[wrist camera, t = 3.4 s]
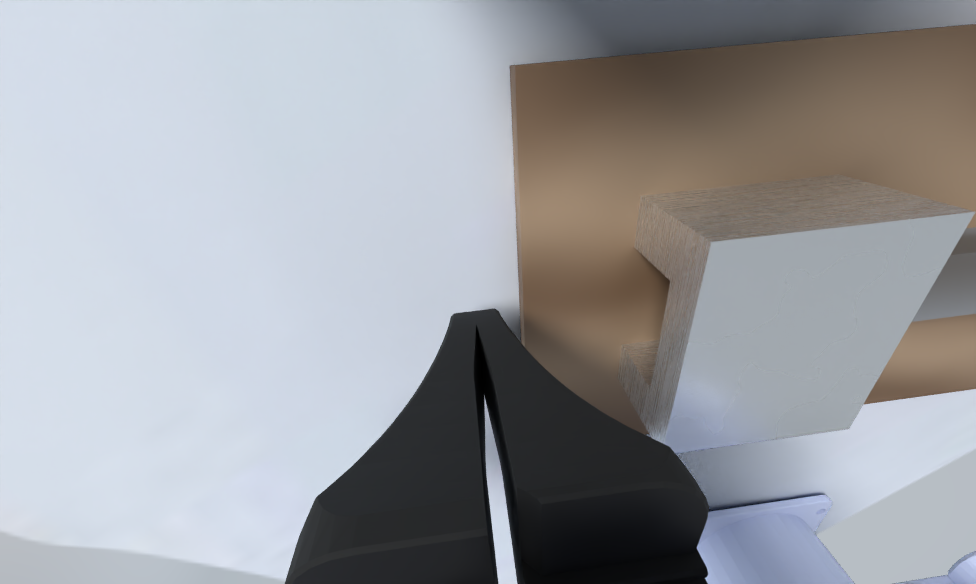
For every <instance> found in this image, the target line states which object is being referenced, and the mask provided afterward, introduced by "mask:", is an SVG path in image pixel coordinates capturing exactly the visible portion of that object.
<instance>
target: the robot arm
mask: <svg viewBox="0 0 976 584" xmlns="http://www.w3.org/2000/svg"><path fill="white" fill-rule="evenodd" d="M484 395H485V400H486V404H487V408H488V412H489V417H490V421H491V425H492V429H493V434H494V438H495V442H496V446H497V451H498V455H499V459H500V464H501V470H502V475H503V482H504V489H505V496H506V503H507V510H508V518H509V525H510V532H511V539H512V546H513V554H514V561H515V568H516V576H517V583H518V584H855V583H854V582H853V581H852V580H851V578H850V577H849V576H848V575H847V573H846V572H845V571H844V569H843V568H842V567H841V566H840V564H838V562H837V561H836V559H835V558H834V557H833V556H832V555H831V553H830V552H829V551H828V549H827V548H826V547H825V546H824V544H823V543H822V542H821V541H820V539H819V538H818V537H817V536H816V534H815V533H814V532H815V531H816V529H817V528H818V526H819V524H820V523H821V521H822V520H823V518H824V517H825V515H826V514H827V512H828V510H829V509H830V507H831V506H832V503H833V502H832V501H831V500H830V498H829V497H828V496H826V495H817V496H810V497H804V498H797V499H790V500H784V501H777V502H770V503H764V504H757V505H750V506H744V507H737V508H730V509H724V510H717V511H710V512H709V505H708V503H707V500H706V497H705V496H704V494H703V492H702V491H701V489H700V487H699V486H698V484H697V483H696V481H695V479H694V478H693V476H692V475H691V474H690V472H689V471H688V470H687V468H686V467H685V466H684V464H683V463H682V462H681V460H680V459H679V458H678V457H677V455H676V454H675V453H674V451H673V450H672V449H671V448H670V447H669V446H667V445H665V444H663V443H661V442H659V441H657V440H655V439H653V438H650V437H648V436H646V435H644V434H642V433H640V432H638V431H636V430H634V429H632V428H630V427H628V426H626V425H624V424H622V423H621V422H619V421H617V420H615V419H614V418H612V417H610V416H608V415H607V414H605V413H603V412H602V411H600V410H599V409H597V408H596V407H594V406H593V405H591V404H590V403H588V402H587V401H585V400H584V399H582V398H581V397H579V396H578V395H576V394H575V393H574V392H573V391H571V390H570V389H569V388H567V387H566V386H565V385H564V384H562V383H561V382H560V381H559V380H558V379H556V378H555V377H554V376H553V375H552V374H551V373H549V372H548V371H547V370H546V369H545V368H544V367H543V366H542V365H541V364H540V363H539V362H538V361H537V360H536V359H535V358H534V357H533V356H532V355H531V354H530V353H529V352H528V350H527V349H526V348H525V347H524V346H523V345H522V344H521V342H520V341H519V340H518V339H517V338H516V336H515V335H514V334H513V333H512V331H511V330H510V329H509V327H508V326H507V324H506V323H505V322H504V320H503V318H502V317H501V315H500V313H499V311H497V310H496V309H488V310H480V311H471V312H463V313H455V314H453V315H452V316H451V319H450V323H449V327H448V330H447V332H446V335H445V338H444V340H443V342H442V345H441V347H440V349H439V351H438V353H437V356H436V358H435V360H434V362H433V363H432V365H431V367H430V369H429V371H428V372H427V374H426V376H425V378H424V380H423V381H422V383H421V384H420V386H419V388H418V389H417V391H416V392H415V394H414V395H413V397H412V398H411V399H410V401H409V402H408V404H407V405H406V407H405V408H404V409H403V410H402V412H401V413H400V414H399V415H398V417H397V418H396V419H395V421H394V422H393V423H392V424H391V426H390V427H389V428H388V429H387V430H386V431H385V433H384V434H383V435H382V436H381V437H380V438H379V439H378V440H377V441H376V442H375V443H374V444H373V445H372V446H371V448H370V449H369V450H368V451H367V452H366V453H365V454H364V455H363V456H362V457H361V458H360V459H359V460H358V461H357V462H356V463H355V464H354V465H353V466H352V467H351V468H350V469H349V470H347V471H346V472H345V473H344V474H343V475H342V476H341V477H339V478H338V479H337V480H336V481H335V482H334V483H333V484H331V485H330V486H329V487H328V488H327V489H326V490H325V491H323V492H322V493H321V494H320V495H318V496H317V497H316V499H315V501H314V503H313V505H312V508H311V510H310V512H309V515H308V517H307V519H306V522H305V524H304V526H303V529H302V531H301V533H300V536H299V539H298V542H297V545H296V548H295V552H294V555H293V558H292V562H291V565H290V568H289V572H288V575H287V578H286V582H285V584H498V577H497V568H496V559H495V550H494V541H493V532H492V523H491V514H490V505H489V496H488V487H487V478H486V462H485V411H484ZM894 584H976V551H974V552H972V553H970V554H967V555H965V556H964V557H962V558H961V559H959V560H958V561H957V562H956V563H955V564H954V565H953V566H952V567H951V568H950V570H949V572H948V575H943V576H937V577H931V578H925V579H919V580H912V581H906V582H900V583H894Z"/></svg>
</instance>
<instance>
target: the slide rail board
mask: <svg viewBox="0 0 976 584" xmlns="http://www.w3.org/2000/svg"><path fill="white" fill-rule="evenodd" d="M510 82H511V107H512V131H513V155H514V180H515V204H516V229H517V253H518V277H519V302H520V326H521V344H522V345H523V346H524V347H525V348H526V349H527V350H528V352H529V353H530V354H531V355H532V356H533V357H534V358H535V359H536V360H537V361H538V362H539V363H540V364H541V365H542V366H543V367H544V368H545V369H546V370H547V371H548V372H549V373H551V374H552V375H553V376H554V377H555V378H556V379H558V380H559V381H560V382H561V383H562V384H564V385H565V386H566V387H567V388H569V389H570V390H571V391H573V392H574V393H575V394H576V395H578V396H579V397H581V398H582V399H584V400H585V401H587V402H588V403H590V404H591V405H593V406H594V407H596V408H597V409H599V410H600V411H602V412H603V413H605V414H607V415H608V416H610V417H612V418H614V419H615V420H617V421H619V422H621V423H622V424H624V425H626V426H628V427H630V428H632V429H634V430H636V431H638V432H640V433H642V434H644V435H646V434H649V433H648V431H647V429H646V427H645V426H644V424H643V422H642V420H641V418H640V417H639V415H638V413H637V411H636V410H635V408H634V406H633V404H632V402H631V401H630V399H629V397H628V395H627V394H626V392H625V390H624V388H623V386H622V385H621V383H620V381H619V379H618V372H619V364H620V356H621V348H622V344H630V343H638V342H646V341H654V340H659V339H660V334H661V329H662V323H663V318H664V312H665V307H666V302H667V296H668V291H669V286H670V280H669V279H668V278H667V277H665V276H664V275H663V274H662V273H661V272H660V271H659V270H658V269H657V268H656V267H655V266H654V265H653V264H652V263H651V262H650V261H648V260H647V259H646V258H645V257H644V256H643V255H642V254H641V253H640V252H639V251H638V250H637V249H636V248H635V247H634V245H635V237H636V229H637V221H638V213H639V205H640V197H641V196H644V195H653V194H662V193H672V192H681V191H690V190H699V189H709V188H718V187H727V186H737V185H746V184H755V183H764V182H774V181H783V180H792V179H802V178H811V177H820V176H830V175H843V176H847V177H850V178H854V179H858V180H861V181H865V182H869V183H872V184H876V185H879V186H883V187H887V188H890V189H894V190H898V191H901V192H905V193H909V194H912V195H916V196H920V197H923V198H927V199H931V200H934V201H938V202H942V203H945V204H949V205H953V206H956V207H960V208H964V209H967V210H971V211H975V214H974V216H973V217H972V219H971V221H970V222H969V224H968V226H967V228H966V229H965V231H964V233H963V234H962V236H961V238H960V240H959V241H958V243H957V245H956V246H955V248H954V250H953V252H952V253H951V255H950V257H949V258H948V260H947V262H946V264H945V265H944V267H943V269H942V270H941V272H940V274H939V275H938V277H937V279H936V281H935V282H934V284H933V286H932V287H931V289H930V291H929V293H928V294H927V296H926V298H925V299H924V301H923V303H922V305H921V306H920V308H919V310H918V311H917V313H916V315H915V317H914V318H913V320H912V322H911V323H910V325H909V327H908V329H907V330H906V332H905V334H904V335H903V337H902V339H901V341H900V342H899V344H898V346H897V347H896V349H895V351H894V353H893V354H892V356H891V358H890V359H889V361H888V363H887V365H886V366H885V368H884V370H883V371H882V373H881V375H880V377H879V378H878V380H877V382H876V383H875V385H874V387H873V388H872V390H871V392H870V394H869V395H868V397H867V399H866V400H865V402H864V404H870V403H877V402H884V401H891V400H898V399H906V398H913V397H920V396H927V395H934V394H942V393H949V392H956V391H963V390H971V389H976V24H971V25H960V26H948V27H937V28H926V29H915V30H904V31H892V32H881V33H870V34H859V35H847V36H836V37H825V38H814V39H803V40H791V41H780V42H769V43H758V44H747V45H735V46H724V47H713V48H702V49H690V50H679V51H668V52H657V53H646V54H634V55H623V56H612V57H601V58H589V59H578V60H567V61H556V62H545V63H533V64H522V65H511V66H510Z"/></svg>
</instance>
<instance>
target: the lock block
mask: <svg viewBox="0 0 976 584" xmlns="http://www.w3.org/2000/svg"><path fill="white" fill-rule="evenodd" d="M974 214H975V211H971V210H967V209H964V208H960V207H956V206H953V205H949V204H945V203H942V202H938V201H934V200H931V199H927V198H923V197H920V196H916V195H912V194H909V193H905V192H901V191H898V190H894V189H890V188H887V187H883V186H879V185H876V184H872V183H869V182H865V181H861V180H858V179H854V178H850V177H847V176H843V175H830V176H820V177H811V178H802V179H792V180H783V181H774V182H764V183H755V184H746V185H737V186H727V187H718V188H709V189H699V190H690V191H681V192H672V193H662V194H653V195H644V196H641V197H640V205H639V213H638V221H637V229H636V237H635V245H634V247H635V248H636V249H637V250H638V251H639V252H640V253H641V254H642V255H643V256H644V257H645V258H646V259H647V260H648V261H650V262H651V263H652V264H653V265H654V266H655V267H656V268H657V269H658V270H659V271H660V272H661V273H662V274H663V275H664V276H665V277H667V278H668V279H669V280H670V286H669V291H668V296H667V302H666V307H665V312H664V318H663V323H662V329H661V334H660V339H659V340H654V341H646V342H638V343H630V344H622V348H621V356H620V364H619V372H618V379H619V381H620V383H621V385H622V386H623V388H624V390H625V392H626V394H627V395H628V397H629V399H630V401H631V402H632V404H633V406H634V408H635V410H636V411H637V413H638V415H639V417H640V418H641V420H642V422H643V424H644V426H645V427H646V429H647V431H648V433H649V434H650V436H651V438H653V439H655V440H657V441H659V442H661V443H663V444H665V445H667V446H669V447H670V448H671V449H672V450H673V451H674V453H675V454H676V453H683V452H690V451H697V450H704V449H711V448H718V447H725V446H732V445H739V444H746V443H753V442H760V441H767V440H774V439H781V438H789V437H796V436H803V435H810V434H817V433H824V432H831V431H838V430H845V429H849V428H850V426H851V424H852V423H853V421H854V419H855V418H856V416H857V414H858V412H859V411H860V409H861V407H862V406H863V404H864V402H865V400H866V399H867V397H868V395H869V394H870V392H871V390H872V388H873V387H874V385H875V383H876V382H877V380H878V378H879V377H880V375H881V373H882V371H883V370H884V368H885V366H886V365H887V363H888V361H889V359H890V358H891V356H892V354H893V353H894V351H895V349H896V347H897V346H898V344H899V342H900V341H901V339H902V337H903V335H904V334H905V332H906V330H907V329H908V327H909V325H910V323H911V322H912V320H913V318H914V317H915V315H916V313H917V311H918V310H919V308H920V306H921V305H922V303H923V301H924V299H925V298H926V296H927V294H928V293H929V291H930V289H931V287H932V286H933V284H934V282H935V281H936V279H937V277H938V275H939V274H940V272H941V270H942V269H943V267H944V265H945V264H946V262H947V260H948V258H949V257H950V255H951V253H952V252H953V250H954V248H955V246H956V245H957V243H958V241H959V240H960V238H961V236H962V234H963V233H964V231H965V229H966V228H967V226H968V224H969V222H970V221H971V219H972V217H973V216H974Z"/></svg>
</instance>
